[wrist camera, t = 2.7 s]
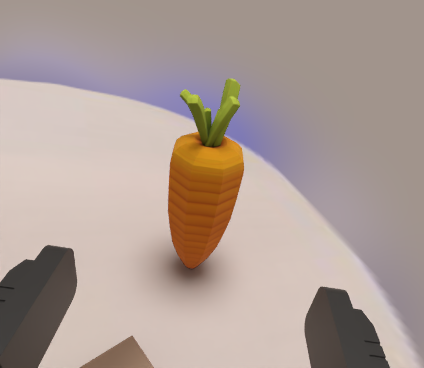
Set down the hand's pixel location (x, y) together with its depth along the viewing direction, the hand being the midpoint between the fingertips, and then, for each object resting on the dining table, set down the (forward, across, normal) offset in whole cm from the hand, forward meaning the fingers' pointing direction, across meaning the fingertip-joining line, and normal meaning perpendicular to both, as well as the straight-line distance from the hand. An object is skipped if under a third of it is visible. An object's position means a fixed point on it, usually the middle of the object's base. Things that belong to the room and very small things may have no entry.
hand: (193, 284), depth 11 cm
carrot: (+12, 0, +12) cm, 16 cm away
